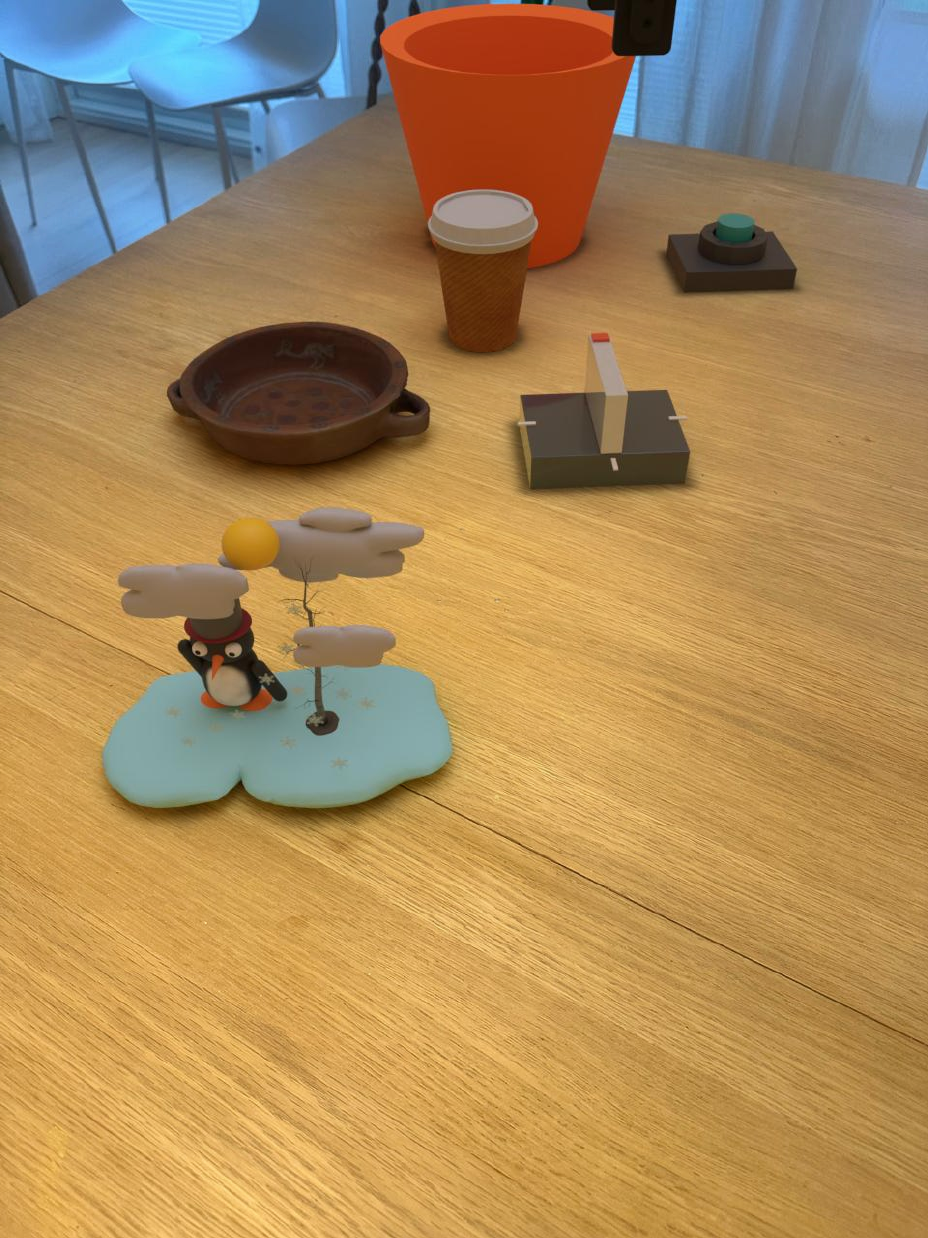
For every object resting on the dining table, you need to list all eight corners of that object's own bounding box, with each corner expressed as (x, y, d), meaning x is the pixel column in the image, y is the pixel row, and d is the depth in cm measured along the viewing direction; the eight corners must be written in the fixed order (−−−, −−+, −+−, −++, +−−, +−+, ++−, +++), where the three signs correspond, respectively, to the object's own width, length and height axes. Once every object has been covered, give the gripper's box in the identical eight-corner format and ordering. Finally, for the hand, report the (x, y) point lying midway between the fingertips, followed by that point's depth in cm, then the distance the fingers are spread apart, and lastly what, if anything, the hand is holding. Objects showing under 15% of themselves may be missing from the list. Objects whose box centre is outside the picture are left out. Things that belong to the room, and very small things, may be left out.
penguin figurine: (90, 821, 58) (7, 620, 48) (135, 681, 66) (71, 482, 56) (452, 819, 58) (447, 617, 48) (454, 679, 66) (449, 480, 56)
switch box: (768, 251, 111) (776, 213, 109) (792, 289, 105) (801, 250, 102) (666, 254, 111) (670, 216, 108) (683, 293, 105) (689, 254, 102)
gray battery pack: (621, 453, 79) (628, 391, 75) (600, 454, 79) (606, 392, 75) (603, 390, 85) (609, 331, 82) (584, 391, 85) (588, 331, 82)
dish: (208, 363, 95) (198, 311, 92) (449, 379, 93) (448, 327, 89) (136, 473, 82) (122, 418, 79) (413, 496, 80) (410, 440, 77)
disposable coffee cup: (516, 368, 94) (520, 237, 86) (416, 352, 96) (411, 222, 88) (545, 320, 100) (551, 194, 92) (451, 306, 103) (448, 182, 95)
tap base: (665, 407, 89) (669, 373, 87) (699, 500, 79) (705, 465, 77) (509, 412, 89) (510, 379, 86) (524, 506, 79) (526, 472, 77)
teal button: (746, 229, 107) (749, 212, 106) (755, 244, 104) (758, 226, 103) (711, 230, 107) (714, 213, 106) (719, 245, 104) (722, 228, 103)
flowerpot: (536, 178, 127) (544, -8, 114) (669, 253, 111) (695, 46, 98) (351, 223, 118) (335, 25, 104) (467, 311, 102) (465, 92, 89)
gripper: (793, -374, 44) (723, 73, 55) (702, -370, 56) (661, -7, 68) (613, -374, 43) (581, 75, 55) (562, -371, 56) (545, -6, 68)
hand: (625, 30), depth 62 cm, fingers open, 9 cm apart
